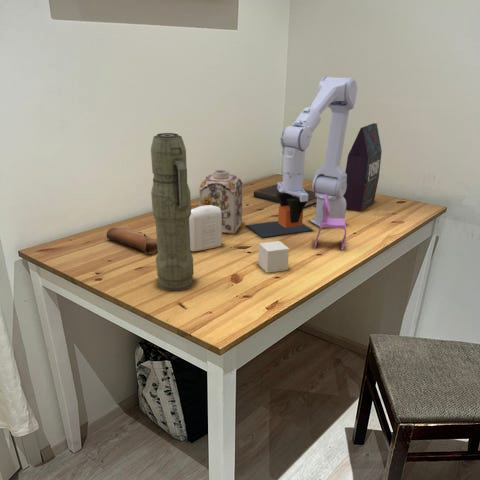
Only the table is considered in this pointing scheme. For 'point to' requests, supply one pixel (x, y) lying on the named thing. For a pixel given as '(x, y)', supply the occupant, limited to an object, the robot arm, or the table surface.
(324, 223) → the toy chair
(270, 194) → the hardcover book
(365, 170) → the decorative box
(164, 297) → the table surface
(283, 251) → the white cube
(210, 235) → the photo printer
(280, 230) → the back mat
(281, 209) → the orange box
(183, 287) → the thermos
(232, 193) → the decorative jar
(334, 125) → the robot arm
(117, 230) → the sunglasses case
